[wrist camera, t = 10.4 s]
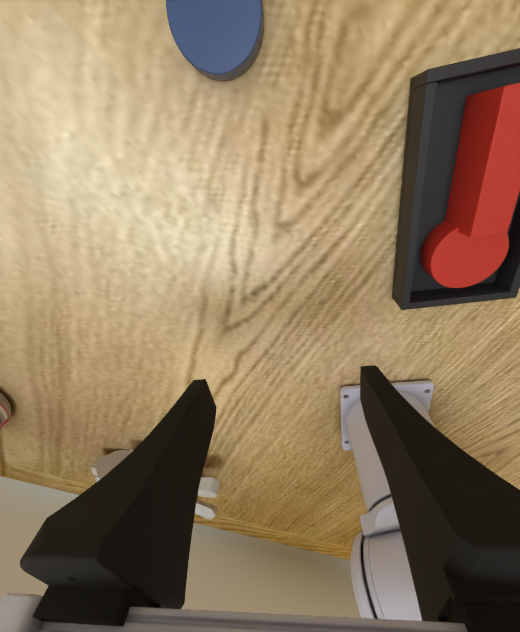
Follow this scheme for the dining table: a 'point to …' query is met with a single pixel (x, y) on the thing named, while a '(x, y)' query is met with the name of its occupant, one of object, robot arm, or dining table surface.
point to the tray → (445, 179)
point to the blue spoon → (217, 34)
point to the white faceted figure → (206, 489)
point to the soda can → (4, 410)
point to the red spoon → (479, 192)
